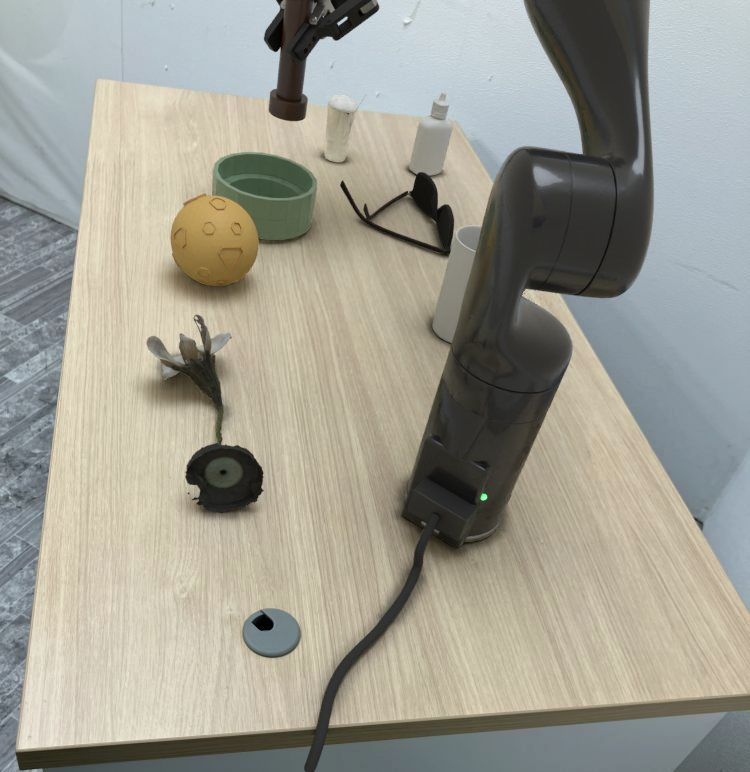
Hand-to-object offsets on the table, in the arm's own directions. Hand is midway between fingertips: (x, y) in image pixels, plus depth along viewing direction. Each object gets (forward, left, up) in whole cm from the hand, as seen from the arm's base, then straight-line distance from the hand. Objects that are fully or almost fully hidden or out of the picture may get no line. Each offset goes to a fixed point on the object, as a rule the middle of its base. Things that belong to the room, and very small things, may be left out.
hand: (280, 51), depth 89 cm
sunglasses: (+18, -9, -22) cm, 30 cm away
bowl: (+4, +3, -22) cm, 23 cm away
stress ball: (-13, -3, -22) cm, 26 cm away
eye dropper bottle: (+38, -3, -22) cm, 44 cm away
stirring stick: (+2, 0, -7) cm, 7 cm away
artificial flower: (-33, -19, -22) cm, 45 cm away
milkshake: (+29, +8, -22) cm, 37 cm away
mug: (+3, -28, -22) cm, 36 cm away
